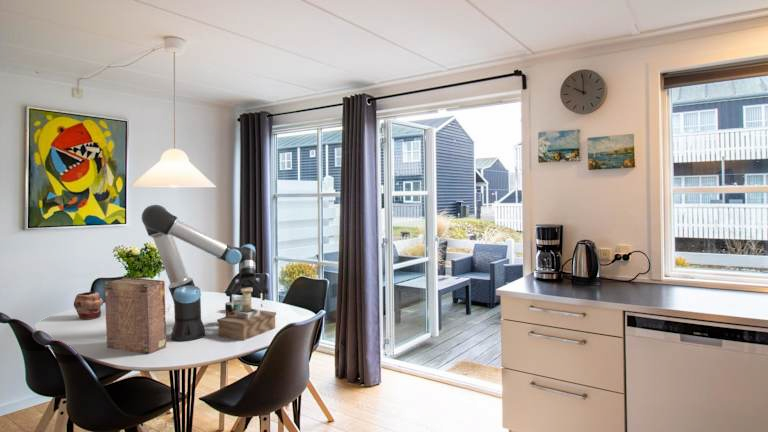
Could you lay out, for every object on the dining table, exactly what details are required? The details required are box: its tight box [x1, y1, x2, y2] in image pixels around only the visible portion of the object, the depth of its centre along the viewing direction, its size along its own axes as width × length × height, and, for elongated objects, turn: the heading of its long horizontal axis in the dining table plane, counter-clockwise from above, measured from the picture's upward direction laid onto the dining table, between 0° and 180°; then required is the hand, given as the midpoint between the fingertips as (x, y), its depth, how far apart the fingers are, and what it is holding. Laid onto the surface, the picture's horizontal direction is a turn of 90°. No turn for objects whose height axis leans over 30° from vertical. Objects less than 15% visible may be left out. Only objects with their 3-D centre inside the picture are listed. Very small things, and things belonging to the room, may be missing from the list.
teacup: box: [234, 294, 243, 310], centre depth 272 cm, size 14×11×8 cm
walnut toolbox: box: [216, 308, 277, 341], centre depth 229 cm, size 23×17×10 cm
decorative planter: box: [73, 291, 104, 320], centre depth 257 cm, size 20×12×14 cm, turn 72°
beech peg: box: [240, 287, 254, 313], centre depth 228 cm, size 6×6×14 cm
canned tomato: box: [224, 301, 241, 317], centre depth 244 cm, size 8×8×11 cm
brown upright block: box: [104, 277, 167, 355], centre depth 206 cm, size 25×9×30 cm, turn 69°
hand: (247, 306), depth 226 cm, fingers open, 13 cm apart
